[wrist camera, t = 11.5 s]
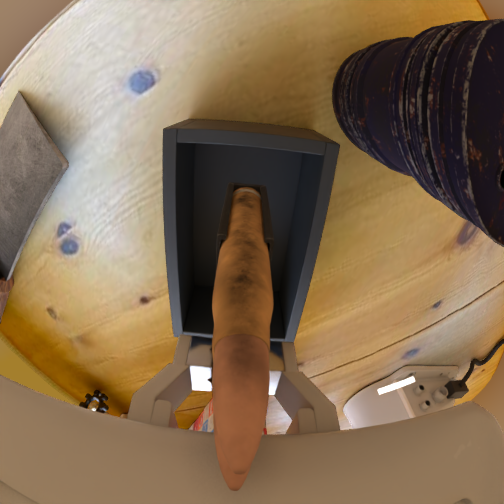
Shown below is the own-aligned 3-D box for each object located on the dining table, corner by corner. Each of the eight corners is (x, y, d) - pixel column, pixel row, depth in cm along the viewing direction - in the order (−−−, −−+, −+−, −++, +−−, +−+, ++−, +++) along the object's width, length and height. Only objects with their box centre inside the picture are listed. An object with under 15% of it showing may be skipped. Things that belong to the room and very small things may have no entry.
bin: (314, 130, 20) (340, 144, 14) (285, 294, 28) (293, 345, 22) (187, 118, 19) (162, 128, 14) (187, 287, 27) (173, 337, 22)
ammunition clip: (247, 339, 19) (247, 516, 9) (220, 337, 19) (206, 514, 8) (266, 185, 14) (309, 457, 3) (228, 181, 13) (176, 453, 3)
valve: (149, 422, 44) (110, 389, 38) (143, 452, 38) (99, 422, 33) (123, 422, 45) (84, 389, 39) (116, 449, 39) (73, 419, 34)
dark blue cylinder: (391, 26, 15) (532, -6, 2) (451, 120, 19) (585, 174, 6) (303, 88, 18) (407, 79, 5) (377, 182, 22) (492, 291, 9)
